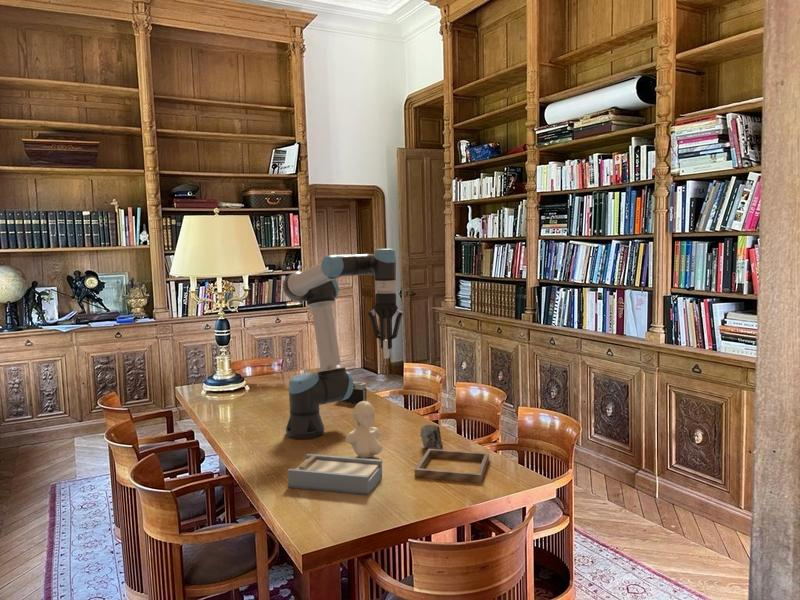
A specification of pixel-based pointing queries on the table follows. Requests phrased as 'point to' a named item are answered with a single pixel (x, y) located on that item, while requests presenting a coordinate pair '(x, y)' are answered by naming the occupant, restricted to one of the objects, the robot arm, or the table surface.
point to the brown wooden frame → (452, 474)
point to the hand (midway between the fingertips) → (386, 357)
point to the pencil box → (335, 477)
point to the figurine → (364, 431)
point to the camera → (357, 393)
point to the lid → (338, 467)
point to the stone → (431, 437)
